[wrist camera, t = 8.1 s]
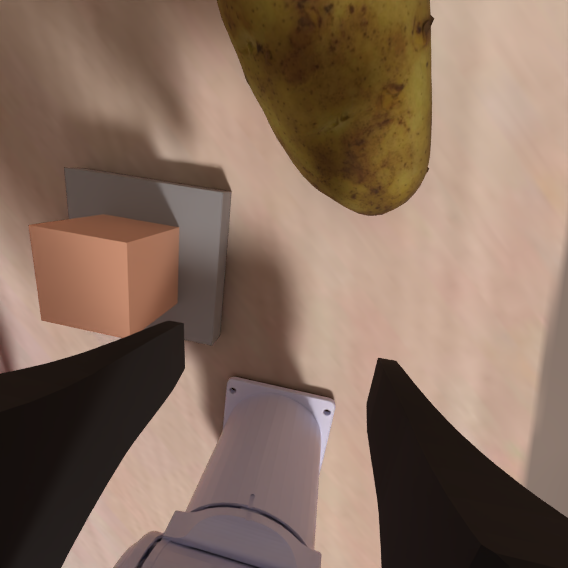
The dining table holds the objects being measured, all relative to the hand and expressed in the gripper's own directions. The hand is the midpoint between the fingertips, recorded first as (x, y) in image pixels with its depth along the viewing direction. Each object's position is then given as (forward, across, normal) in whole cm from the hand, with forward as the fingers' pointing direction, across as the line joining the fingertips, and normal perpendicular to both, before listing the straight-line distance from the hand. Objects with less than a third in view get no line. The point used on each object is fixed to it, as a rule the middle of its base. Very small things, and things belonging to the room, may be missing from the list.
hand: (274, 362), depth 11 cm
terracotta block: (+8, +10, 0) cm, 13 cm away
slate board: (+9, +10, 0) cm, 14 cm away
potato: (+10, 0, -10) cm, 15 cm away
